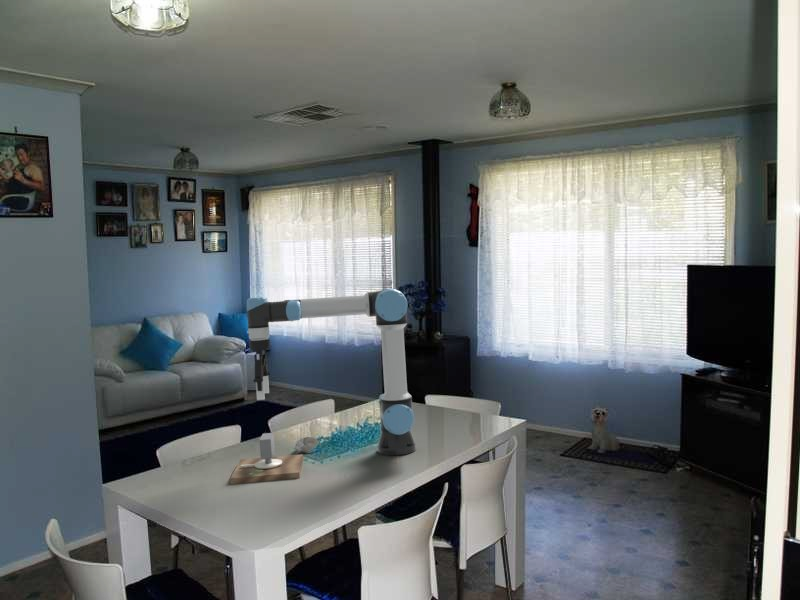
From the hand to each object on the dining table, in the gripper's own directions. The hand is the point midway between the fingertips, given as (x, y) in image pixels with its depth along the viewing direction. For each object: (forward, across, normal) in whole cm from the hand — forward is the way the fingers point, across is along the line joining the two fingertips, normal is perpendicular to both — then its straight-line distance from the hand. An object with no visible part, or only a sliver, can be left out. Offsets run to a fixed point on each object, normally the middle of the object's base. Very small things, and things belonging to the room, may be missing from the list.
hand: (263, 396), depth 234 cm
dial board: (+28, 0, 0) cm, 28 cm away
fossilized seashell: (+28, -25, +13) cm, 40 cm away
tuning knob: (+26, 0, -2) cm, 26 cm away
